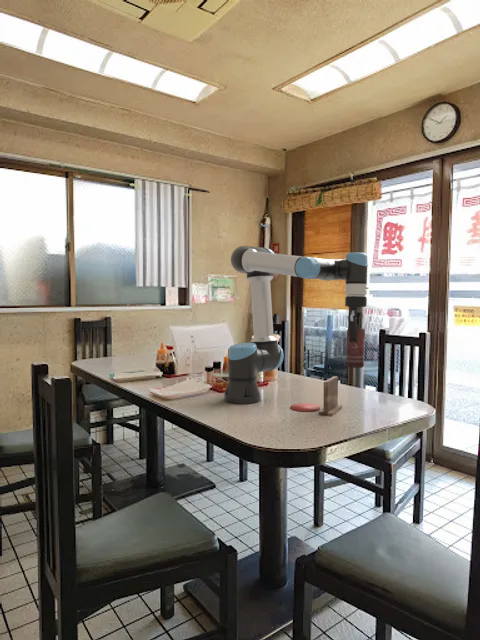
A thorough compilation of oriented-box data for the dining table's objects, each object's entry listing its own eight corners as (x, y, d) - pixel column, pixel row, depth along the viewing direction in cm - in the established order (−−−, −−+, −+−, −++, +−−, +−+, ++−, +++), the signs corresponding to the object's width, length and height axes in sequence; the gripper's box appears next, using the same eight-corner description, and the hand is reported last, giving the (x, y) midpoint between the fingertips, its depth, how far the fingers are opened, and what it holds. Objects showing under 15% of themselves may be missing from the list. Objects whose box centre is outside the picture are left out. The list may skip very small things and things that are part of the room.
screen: (318, 414, 161) (318, 381, 161) (329, 406, 174) (329, 375, 173) (332, 416, 159) (332, 382, 159) (342, 407, 171) (342, 376, 171)
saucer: (286, 409, 169) (286, 408, 169) (296, 403, 178) (296, 402, 178) (314, 412, 164) (314, 411, 164) (323, 406, 173) (323, 405, 173)
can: (365, 368, 158) (365, 328, 158) (346, 367, 159) (347, 328, 159) (363, 366, 164) (364, 328, 163) (346, 365, 165) (346, 327, 165)
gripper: (362, 295, 153) (361, 364, 154) (370, 296, 165) (368, 359, 166) (341, 295, 156) (339, 362, 158) (349, 295, 168) (348, 358, 169)
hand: (354, 360), depth 162 cm, fingers closed
